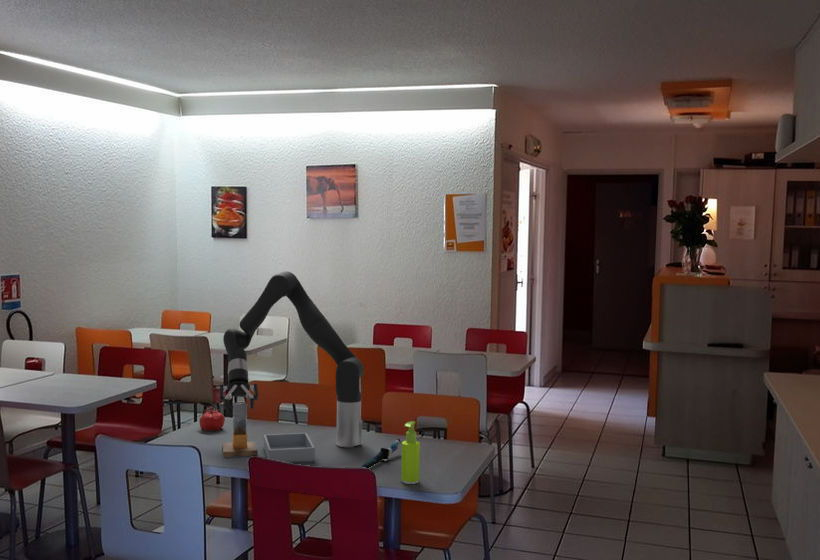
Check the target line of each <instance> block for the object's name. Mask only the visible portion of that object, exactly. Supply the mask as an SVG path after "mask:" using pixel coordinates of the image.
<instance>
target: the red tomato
mask: <svg viewBox="0 0 820 560" xmlns="http://www.w3.org/2000/svg"><path fill="white" fill-rule="evenodd" d="M209 409H210V410H208V409H204V413H203V414H202V415H201V416H200V417H199V427H200V429H201V430H202V431H206V432H212V431H213V432H216V431H219V430H221V429H222V428H223V427H224V425H225V423H226V422H225V421H226V417H225V416H224V415H223V413H221V412H220V411H221V410H220V409H217V410H214V409H213V406H209Z"/></svg>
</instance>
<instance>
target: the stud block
mask: <svg viewBox="0 0 820 560" xmlns="http://www.w3.org/2000/svg"><path fill="white" fill-rule="evenodd" d="M221 448H222V456H223V458H229V457H228V456H241V457H253V456H252V455H258V447H257V444H256V441H255V440H254V441H247V448H238V449H233V446H232V442H222V444H221ZM258 456H259V455H258Z"/></svg>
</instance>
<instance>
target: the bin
mask: <svg viewBox="0 0 820 560" xmlns="http://www.w3.org/2000/svg"><path fill="white" fill-rule="evenodd" d="M315 449H316V447H315V445H314V444H313V442H312V440H311V438H310V436H309V435H308V433H307V432H296V433H293V432H292V433H275V434H274V433H271V434H263V451H264V450H265V451H264V454H265V456H266V459H267V458H270V459H274V460H279V461H285V462H291V463H290V464H297V463H298V464H301V463H315V462H316V461H315V459H316V458H315V457H316V454H315V453H316V450H315Z"/></svg>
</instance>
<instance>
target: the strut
mask: <svg viewBox="0 0 820 560" xmlns="http://www.w3.org/2000/svg"><path fill="white" fill-rule="evenodd" d="M232 410H233V411H232V413H233V414H232V416H233V419H232V421H233V422H232V433H231V434H232V435H231V436H232V442H231V443H232V446H233V449H238V448H247V442H248V432H247V428H248V427H247V425H248V424H247V421H248V419H247V418H248V416H247V415H248V404H247V402H245V401H236V402H234V403H233V407H232Z"/></svg>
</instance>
